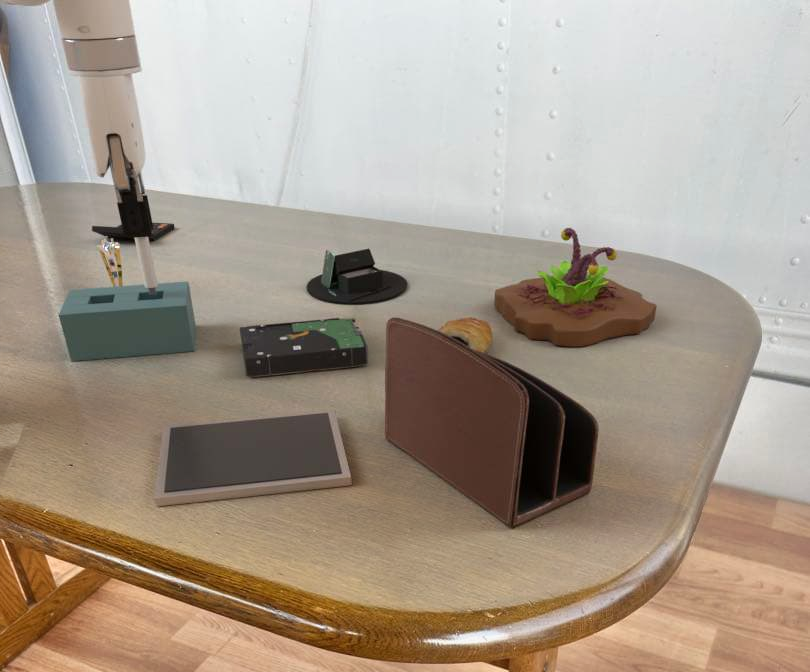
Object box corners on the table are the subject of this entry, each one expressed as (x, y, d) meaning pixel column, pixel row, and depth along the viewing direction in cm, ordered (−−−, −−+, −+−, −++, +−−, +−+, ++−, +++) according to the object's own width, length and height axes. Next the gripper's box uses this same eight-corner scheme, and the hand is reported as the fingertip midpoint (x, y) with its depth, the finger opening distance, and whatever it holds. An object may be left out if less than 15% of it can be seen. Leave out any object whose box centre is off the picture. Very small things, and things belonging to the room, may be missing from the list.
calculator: (174, 228, 148) (171, 211, 146) (144, 247, 139) (140, 229, 137) (128, 225, 150) (124, 208, 148) (95, 244, 141) (90, 226, 139)
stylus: (145, 296, 101) (122, 186, 94) (146, 292, 103) (123, 183, 95) (159, 295, 101) (136, 185, 94) (159, 291, 103) (138, 182, 95)
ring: (133, 301, 118) (121, 244, 113) (110, 304, 117) (97, 247, 112) (126, 286, 123) (114, 232, 118) (104, 289, 122) (91, 234, 117)
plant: (588, 283, 121) (597, 204, 115) (676, 327, 107) (692, 240, 100) (471, 304, 115) (474, 222, 108) (548, 354, 100) (557, 263, 94)
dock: (194, 351, 103) (186, 305, 99) (71, 361, 100) (58, 314, 97) (195, 325, 110) (188, 281, 106) (80, 334, 108) (69, 289, 104)
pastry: (453, 330, 107) (454, 302, 105) (502, 337, 105) (504, 309, 103) (429, 357, 100) (429, 328, 98) (481, 366, 98) (483, 335, 96)
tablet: (156, 507, 74) (154, 496, 73) (165, 434, 85) (163, 424, 85) (352, 485, 77) (351, 475, 76) (335, 417, 88) (334, 408, 87)
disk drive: (247, 381, 96) (370, 366, 98) (243, 359, 94) (369, 344, 96) (241, 347, 104) (355, 334, 106) (238, 326, 102) (353, 313, 105)
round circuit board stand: (373, 264, 130) (372, 229, 126) (426, 290, 120) (426, 252, 116) (289, 282, 123) (285, 245, 120) (338, 312, 113) (335, 272, 110)
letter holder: (510, 531, 70) (522, 381, 62) (383, 440, 83) (379, 307, 75) (592, 493, 75) (614, 350, 67) (459, 413, 88) (463, 285, 80)
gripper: (76, 50, 92) (114, 218, 103) (54, 67, 80) (99, 256, 91) (144, 48, 93) (174, 214, 104) (132, 64, 81) (168, 251, 92)
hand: (139, 232), depth 98 cm, fingers closed on stylus, 1 cm apart
